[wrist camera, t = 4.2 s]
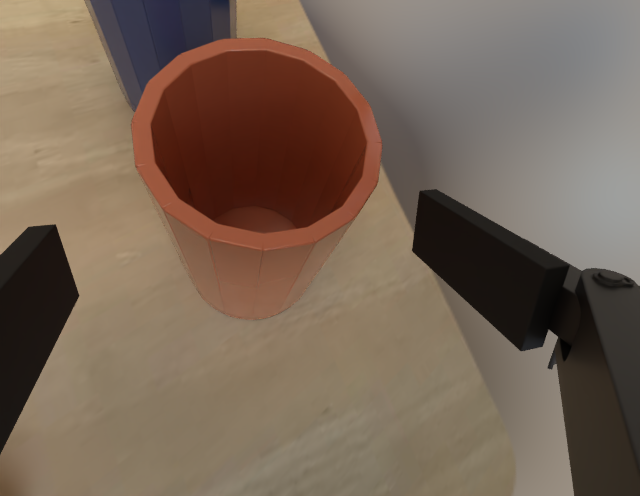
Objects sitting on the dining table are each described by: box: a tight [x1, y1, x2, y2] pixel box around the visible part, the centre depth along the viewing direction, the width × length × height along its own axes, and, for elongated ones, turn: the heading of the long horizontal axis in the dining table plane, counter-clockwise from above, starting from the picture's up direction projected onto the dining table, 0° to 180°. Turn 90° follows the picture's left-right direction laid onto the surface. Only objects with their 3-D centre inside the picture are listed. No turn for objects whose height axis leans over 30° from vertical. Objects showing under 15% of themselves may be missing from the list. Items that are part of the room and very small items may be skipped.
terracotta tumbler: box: [131, 38, 382, 320], centre depth 17 cm, size 7×7×12 cm
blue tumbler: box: [84, 0, 237, 112], centre depth 19 cm, size 7×7×12 cm
